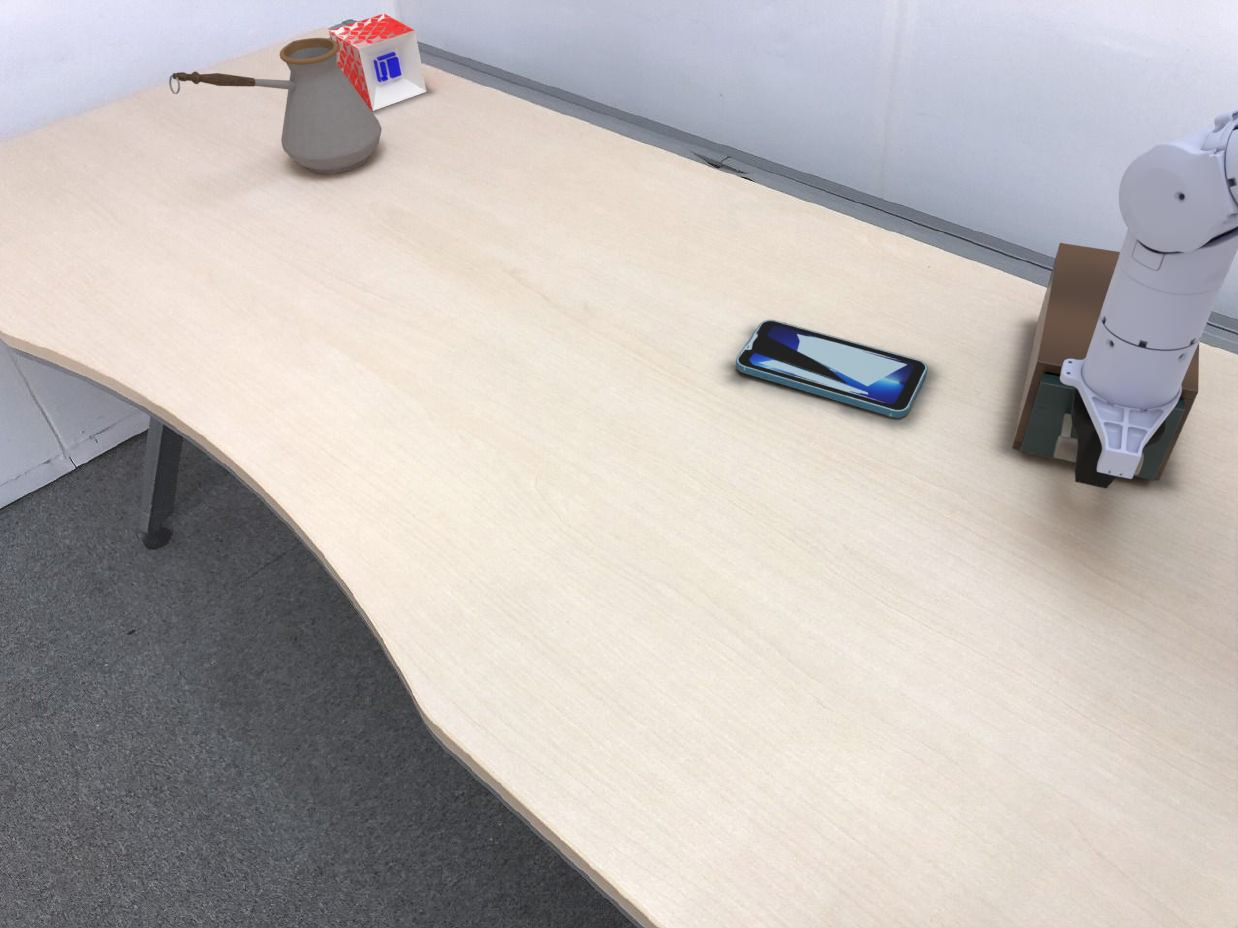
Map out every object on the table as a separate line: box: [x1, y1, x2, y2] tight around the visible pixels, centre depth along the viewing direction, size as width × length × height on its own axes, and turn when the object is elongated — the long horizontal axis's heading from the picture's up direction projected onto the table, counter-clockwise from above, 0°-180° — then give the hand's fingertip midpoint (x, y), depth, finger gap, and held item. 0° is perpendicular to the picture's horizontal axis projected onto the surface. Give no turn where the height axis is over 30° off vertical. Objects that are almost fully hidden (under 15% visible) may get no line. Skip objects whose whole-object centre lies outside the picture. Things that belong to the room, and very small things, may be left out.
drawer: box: [1020, 372, 1185, 481], centre depth 78 cm, size 20×9×7 cm, turn 158°
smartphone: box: [735, 319, 929, 418], centre depth 87 cm, size 7×1×15 cm
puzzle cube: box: [328, 13, 428, 112], centre depth 131 cm, size 8×8×8 cm
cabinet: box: [1011, 242, 1200, 480], centre depth 81 cm, size 17×11×9 cm, turn 158°
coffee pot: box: [168, 37, 383, 175], centre depth 113 cm, size 21×12×15 cm, turn 131°
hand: (1091, 481), depth 71 cm, fingers closed
